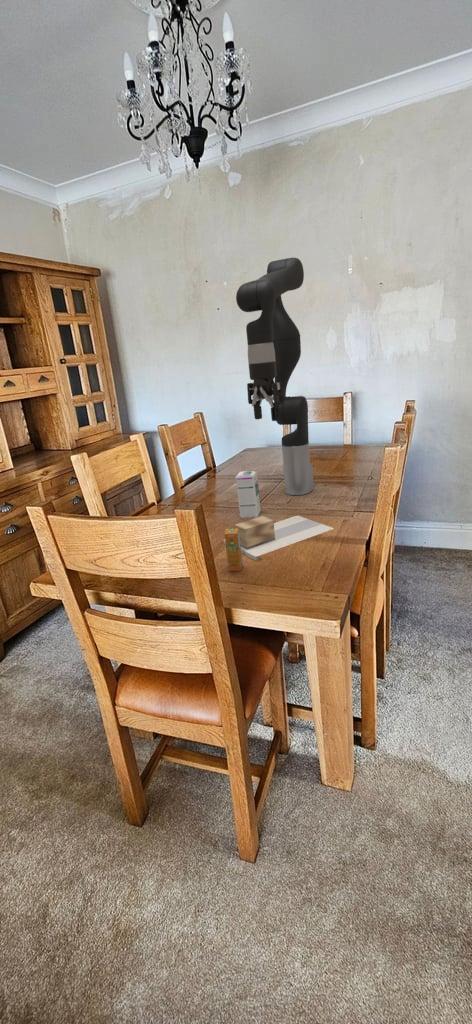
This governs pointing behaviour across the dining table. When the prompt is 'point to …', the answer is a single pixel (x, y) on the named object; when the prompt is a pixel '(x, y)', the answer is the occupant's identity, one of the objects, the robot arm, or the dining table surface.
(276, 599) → the dining table surface
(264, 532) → the block
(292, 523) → the board
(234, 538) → the supplement box
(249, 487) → the syrup box
